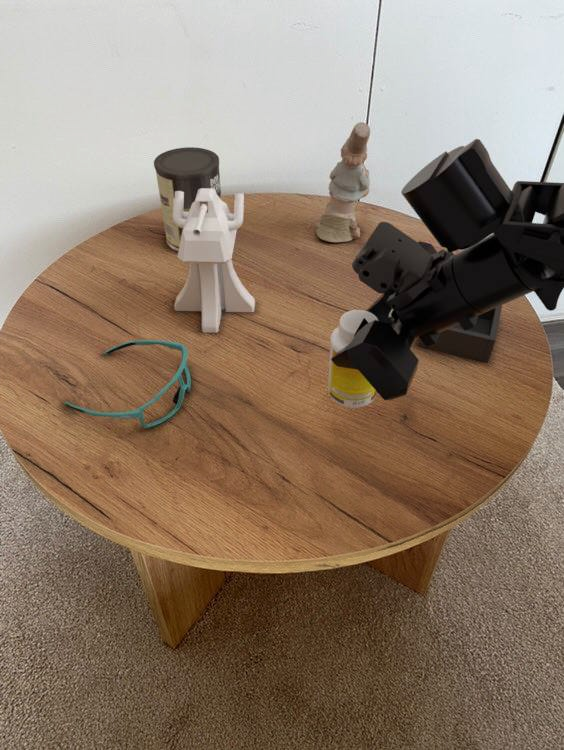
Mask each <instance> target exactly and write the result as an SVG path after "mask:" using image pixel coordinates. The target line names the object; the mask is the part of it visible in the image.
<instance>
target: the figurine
mask: <svg viewBox="0 0 564 750" xmlns="http://www.w3.org/2000/svg"><path fill="white" fill-rule="evenodd" d="M370 136H371V127H370V126H369V124H368V123H365V122H357V123H356V124H355V125H354V126H353V128H352V130H351V133H350V135H349V136H348V137H347V139H346V141H345V142H344V143H343V145H342V147H341V148H340V158H341V161H338V162H337V163H336V166H334V167H333V169H332V170H331V171H330V174H329V179H330V182H329V184H328V195H329V196H330V199H329V201H328V202H327V204H326V207H325V210H324V213H322V214H321V218H319V219H318V220H317V221H316V222H315V224H314V228H315V233H316V236H317V237H318V238H319V239H321V240H323V241H325V242H330V243H345V242H351V241H352V240H354V239H359V238H360V237H361V227H360V226H358V223H357V221H356V220H357V217H356V213H355V206H356V202H357V201H359V200H361V199H363V198H365V197H366V196H368V195H369V193H370V184H371V183H370V181H371V179H370V170H369V169H367V167H366V165H365V164H364V162H365V161H366V160H367V159H368V153H367V152H368V142H369V139H370Z"/></svg>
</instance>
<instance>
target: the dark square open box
mask: <svg viewBox="0 0 564 750" xmlns="http://www.w3.org/2000/svg"><path fill="white" fill-rule="evenodd" d="M502 308H503V305H501V306H499V307H496V308H494V309H492V310H490V311H487V312H485V313H483V314H481V315H479V316H478V319H477V322H476V324H475V327H473V328H470V329H468V330H466V331H464V329H463V328H462V327H461V325H460V324H458V325H455V326H453V327H451V328H449V329H446V330H444V331H442V332H440V334H439V337H438V339H437V341H436V343H435V344H433V345H430V346H428V347H427V346H426V345H425V344H424V343H423V341H422V340H421V339H420V338H419V337H418V338H419V339H418V344H417V346H418V347H422V348H426V349H429V350H434V351H437V352H441V353H446V354H449V355H454V356H459V357H462V358H467V359H471V360H475V361H479V362H483V363H489V361H490V359H491V355H492V353H493V349H494V346H495V343H496V340H497V334H498V330H499V326H500V325H499V324H500V319H501V315H502Z"/></svg>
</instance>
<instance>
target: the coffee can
mask: <svg viewBox="0 0 564 750" xmlns="http://www.w3.org/2000/svg"><path fill="white" fill-rule="evenodd" d="M153 167H154V169H155V173H156V180H157V186H158V193H159V200H160V207H161V213H162V219H163V225H164V232H165V241H166V244H167V246H168V247H170V248H171V249H172V250H173V251H175V252H177V253H178V252H179V246H180V240H181V235H182V231H183V228H180V227H178V226H177V225H176V224H175V223H174V221H173V199H174V198H175V191H182V192H184V206H183V211H185V212H189V210H190V208H191V205H192V203H193V202H194V201H195V199H196V196H197V192H198V190H199V189H201V188H211V189H214V190H215V191H216V193H217V195H218V197H219V198H220V199H221V200H222V189H221V177H220V175H221V173H220V157H219V155H218V154H217V153H216V152H214V151H213V150H209V149H207V148H202V147H193V146H191V147H190V146H189V147H186V146H185V147H178V148H173V149H169V150H166V151H164V152H162V153H160V154H159V155H157V156H156V157H155V159H154V160H153Z"/></svg>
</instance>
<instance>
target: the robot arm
mask: <svg viewBox="0 0 564 750" xmlns="http://www.w3.org/2000/svg"><path fill="white" fill-rule="evenodd" d="M401 195H402V196H403V198H404V199H405V200H406V201H407V203H408V204H409V206H410V207H411V208H412V210H413V211H414V213H415V214H416V215H417V216H418V217H419V219H420V220H421V221H422V223H423V225H424V226H425V227H426V229H427V230H428V232H429V233H430V234H431V235H432V236H433V238H434V239H435V241H436V242H437V243H438V244H439V246H440V247H441V248H442V249H440V250H439V251H437V250H436V248H435V247H434V245H433V244H432V243H430V242H424V241H416V240H415V239H414V238H412V237H411V236H409V235H407V234H406V233H405V232H403V231H402V230H400V229H399V228H397V227H396V226H395V225H393V224H391V223H390V222H387V221H381V222H379V223H378V224H377V226H376V227H375V228H374V230H373V231H372V233H371V234H370V235H369V237H368V239H367V240H366V241H365V243H364V244H363V246H362V248H361V249H360V251H359V252H358V253H357V255H356V256H355V258H354V259H353V261H352V262H351V267H352V270H353V272H355V273H356V274H357V275H358V276H357V277H358V279H359V281H360V282H361V283H362V284H364V285H366V286H367V287H369V288H370V289H372V290H373V291H375V292H376V293H377V294H381V295H380V296H379V297H378V298H377V299H376V300H375V301H374V302H373V303H372V304H371V305H370V306H369V307H368V308H367V309H366V310H365V311H368V312H370V313H372V314H374V315H375V316H376V317H377V319H378V321H377V320H374V321H372V322H370V323H368V322H367V320H366V319H365V318H364V319H363V320H362V322H361V324H360V325H359V327H358V329H357V331H356V332H355V334H354V339H353V340H352V342H351V343H350V344H348V345H347V346H346V347H344V348H343V349H342V350H340V351H339V352H338V353H336V354H335V355H334V356H333V357H332V358H331V360H332V362H333V363H334V364H335V365H336V366H338V367H344V368H350V369H357V370H359V371H360V373H361V374H362V375H363V376H364V377H365V378H366V380H367V381H368V382H369V383H370V384H371V385H372V386H373V388H374V389H375V390H376V391H377V394H378V395H379V396H380V397H381V398H382V400H384V401H393V400H395V399H398V398H400V397H404V396H406V395H407V393H408V391H409V390H410V387H411V385H412V382H413V380H414V378H415V375H416V373H417V371H418V366H419V360H420V359H419V358H418V357H417V356H416V354H415V353H414V352H413V351H412V349H411V348H412V346H413V345H414V342H415V341H416V338H420V339H421V340H422V341H423V343H424V344H425V345H426V346H427V347H428V346H430V345H433V344H435V343H436V341H437V339H438V337H439V334H440V332H442V331H444V330H446V329H449V328H451V327H453V326H455V325H458V324H460V325H461V327H462V328H463V329H464V331H466V330H468V329H470V328H473V327H475V324H476V322H477V319H478V316H479V315H481V314H483V313H485V312H487V311H490V310H492V309H494V308H496V307H499V306H501V305H502V306H503V305H505V304H508V303H510V302H512V301H515V300H517V299H520V298H521V297H524V296H526V295H528V294H530V293H533V292H534V293H535V295H536V296H537V298H538V299H539V300H540V301H541V304H542V305H543V306H544V307H545V309H546V310H547V311H551V312H552V311H555V310H556V309H557V306H558V302H559V298H560V296H561V294H562V291H563V290H564V182H553V181H552V182H549V181H527V180H518V181H517V180H516V181H515V183H514V184H513V186H512V189H511V188H510V187H509V185H508V183H506V181H505V179H504V178H503V177H502V175H501V174H500V172H499V171H498V169H497V167H496V166H495V165H494V163H493V161H492V159H491V156H490V154H489V151H488V150H487V148H486V147H485V145H484V144H483V142H482V141H481V140H480V139H479V138H475V139H474V140H472V141H471V142H469V143H468V144H467V145H461V146H457V147H456V148H454V149H452V150H450V151H449V152H448V151H444V152H442V153H441V154H439V155H438V156H437V157H435V158H434V159H432V161H430V162H429V163H428V164H426V165H425V166H424V167H423V168H422V169H421V170H419V171H418V172H417V173H416V174H415V175H414V176H413V177H412V178H410V180H409V181H408V182H407V183H406V184H405V185H404V186H403V188H402V189H401ZM536 213H537V214H541V215H543V216H544V217H543V221H542V223H539V222H537V223H536V222H534V221H533V220H534V218H535V216H536V215H535V214H536ZM445 249H446V250H445ZM458 250H460V251H458ZM455 251H458V252H456V253H454V252H455Z"/></svg>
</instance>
